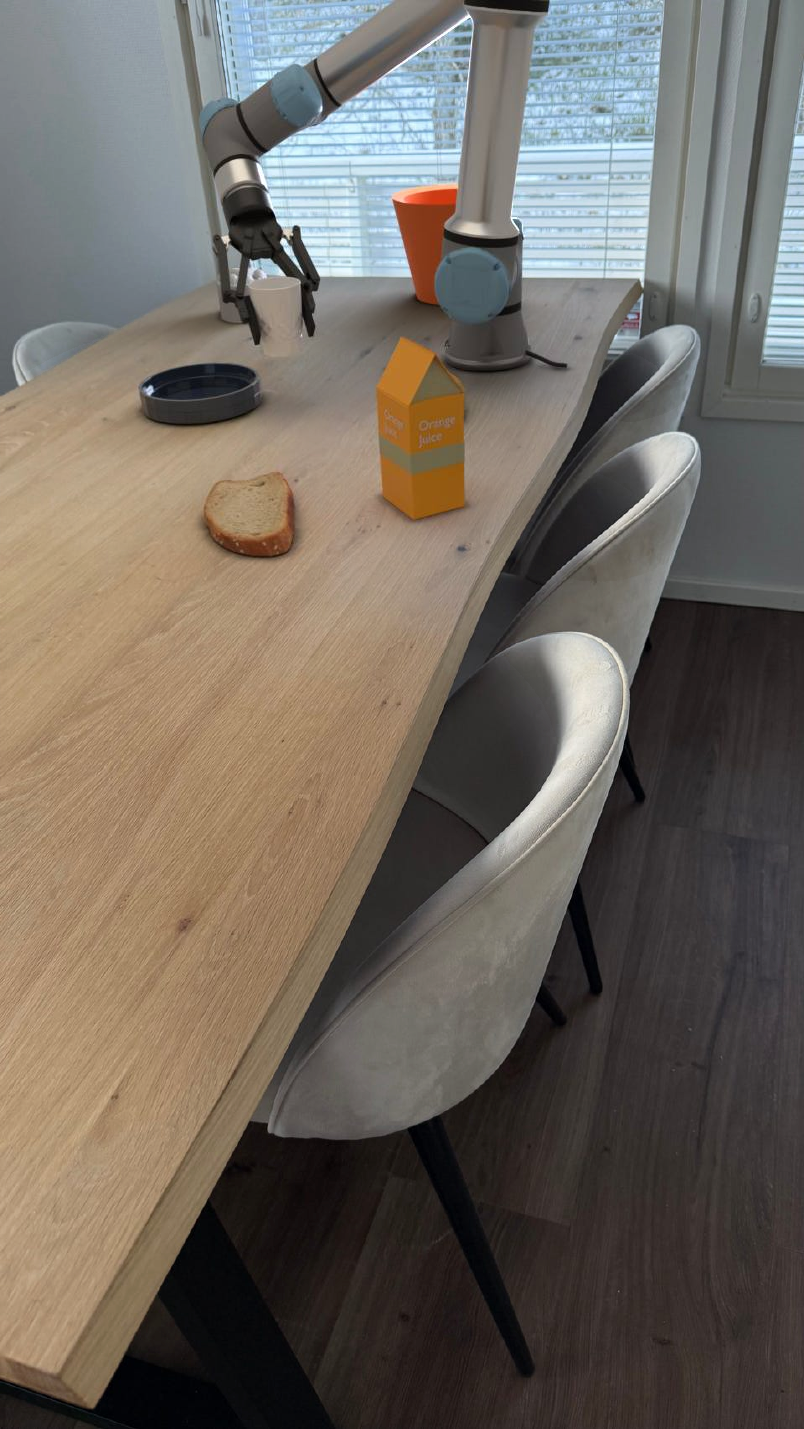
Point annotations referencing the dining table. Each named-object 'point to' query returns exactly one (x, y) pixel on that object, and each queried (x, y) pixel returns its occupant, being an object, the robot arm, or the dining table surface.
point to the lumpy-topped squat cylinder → (229, 309)
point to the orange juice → (420, 433)
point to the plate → (200, 393)
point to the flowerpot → (424, 231)
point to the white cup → (278, 315)
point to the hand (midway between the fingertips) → (285, 335)
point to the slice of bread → (252, 515)
